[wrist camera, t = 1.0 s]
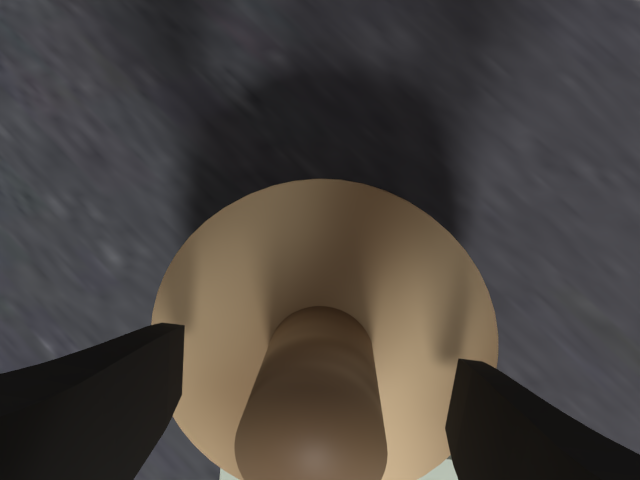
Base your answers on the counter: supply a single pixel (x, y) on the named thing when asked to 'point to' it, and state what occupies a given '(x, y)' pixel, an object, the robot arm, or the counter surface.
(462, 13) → the counter surface
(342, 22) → the counter surface
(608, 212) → the counter surface
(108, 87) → the counter surface
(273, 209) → the lid
